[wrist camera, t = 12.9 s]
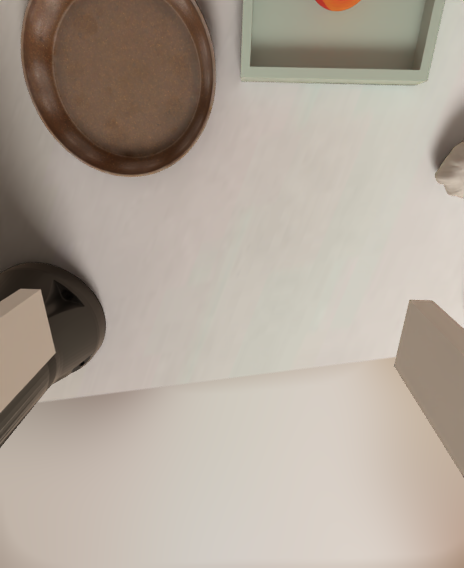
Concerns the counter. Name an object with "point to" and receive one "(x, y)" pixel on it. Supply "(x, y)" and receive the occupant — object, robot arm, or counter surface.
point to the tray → (339, 41)
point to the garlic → (453, 172)
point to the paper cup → (337, 4)
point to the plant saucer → (120, 79)
